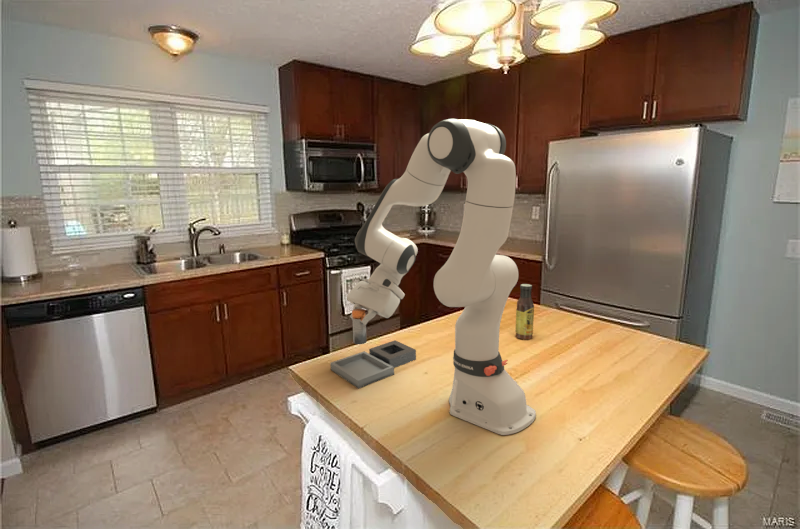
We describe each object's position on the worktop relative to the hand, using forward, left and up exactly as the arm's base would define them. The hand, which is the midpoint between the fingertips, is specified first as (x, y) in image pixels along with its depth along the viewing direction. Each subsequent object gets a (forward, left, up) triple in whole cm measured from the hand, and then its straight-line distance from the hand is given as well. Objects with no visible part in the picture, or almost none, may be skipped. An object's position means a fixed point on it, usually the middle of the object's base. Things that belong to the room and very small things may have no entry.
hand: (357, 321), depth 123 cm
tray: (0, -1, -17) cm, 17 cm away
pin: (0, -1, -7) cm, 7 cm away
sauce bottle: (-17, -62, -17) cm, 66 cm away
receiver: (+1, -14, -17) cm, 22 cm away
